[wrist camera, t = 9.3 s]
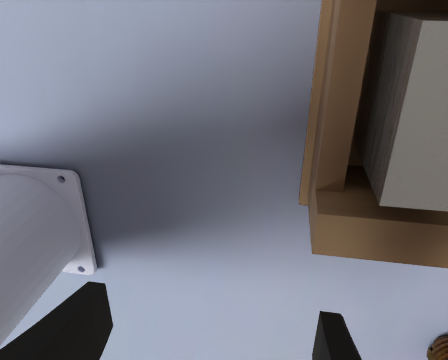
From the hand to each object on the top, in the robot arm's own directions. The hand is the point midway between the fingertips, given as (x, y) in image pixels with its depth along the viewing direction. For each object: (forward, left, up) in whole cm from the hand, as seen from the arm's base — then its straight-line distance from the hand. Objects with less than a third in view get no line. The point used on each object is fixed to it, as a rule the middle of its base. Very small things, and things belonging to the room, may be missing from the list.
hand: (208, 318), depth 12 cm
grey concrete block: (+7, +6, -9) cm, 13 cm away
